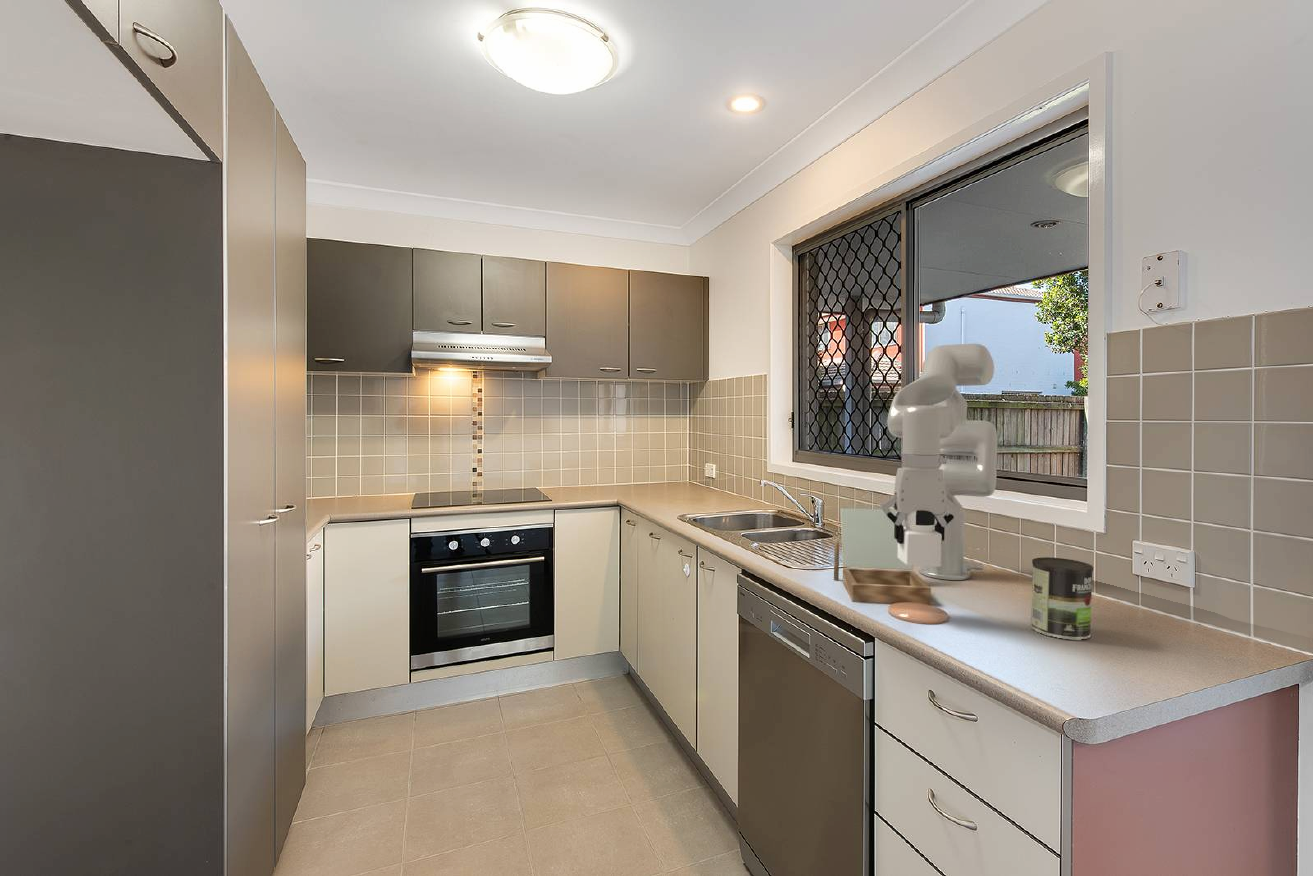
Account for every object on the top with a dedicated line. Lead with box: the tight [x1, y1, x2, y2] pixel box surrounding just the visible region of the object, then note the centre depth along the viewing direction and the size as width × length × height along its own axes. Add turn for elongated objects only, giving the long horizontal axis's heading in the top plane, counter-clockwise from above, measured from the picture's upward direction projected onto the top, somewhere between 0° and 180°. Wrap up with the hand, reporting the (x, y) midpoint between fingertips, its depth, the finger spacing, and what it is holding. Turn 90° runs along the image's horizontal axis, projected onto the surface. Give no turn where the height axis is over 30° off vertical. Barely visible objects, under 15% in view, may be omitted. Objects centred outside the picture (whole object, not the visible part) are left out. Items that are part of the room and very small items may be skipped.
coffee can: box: [1030, 556, 1094, 641], centre depth 123 cm, size 10×10×14 cm
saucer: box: [888, 602, 949, 625], centre depth 134 cm, size 12×12×1 cm
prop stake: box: [833, 537, 840, 582], centre depth 161 cm, size 1×1×11 cm
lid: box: [839, 507, 914, 571], centre depth 160 cm, size 17×15×2 cm
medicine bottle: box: [897, 510, 942, 567], centre depth 133 cm, size 7×7×12 cm
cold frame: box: [842, 567, 932, 606], centre depth 149 cm, size 17×15×4 cm
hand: (918, 542), depth 133 cm, fingers closed on medicine bottle, 7 cm apart
